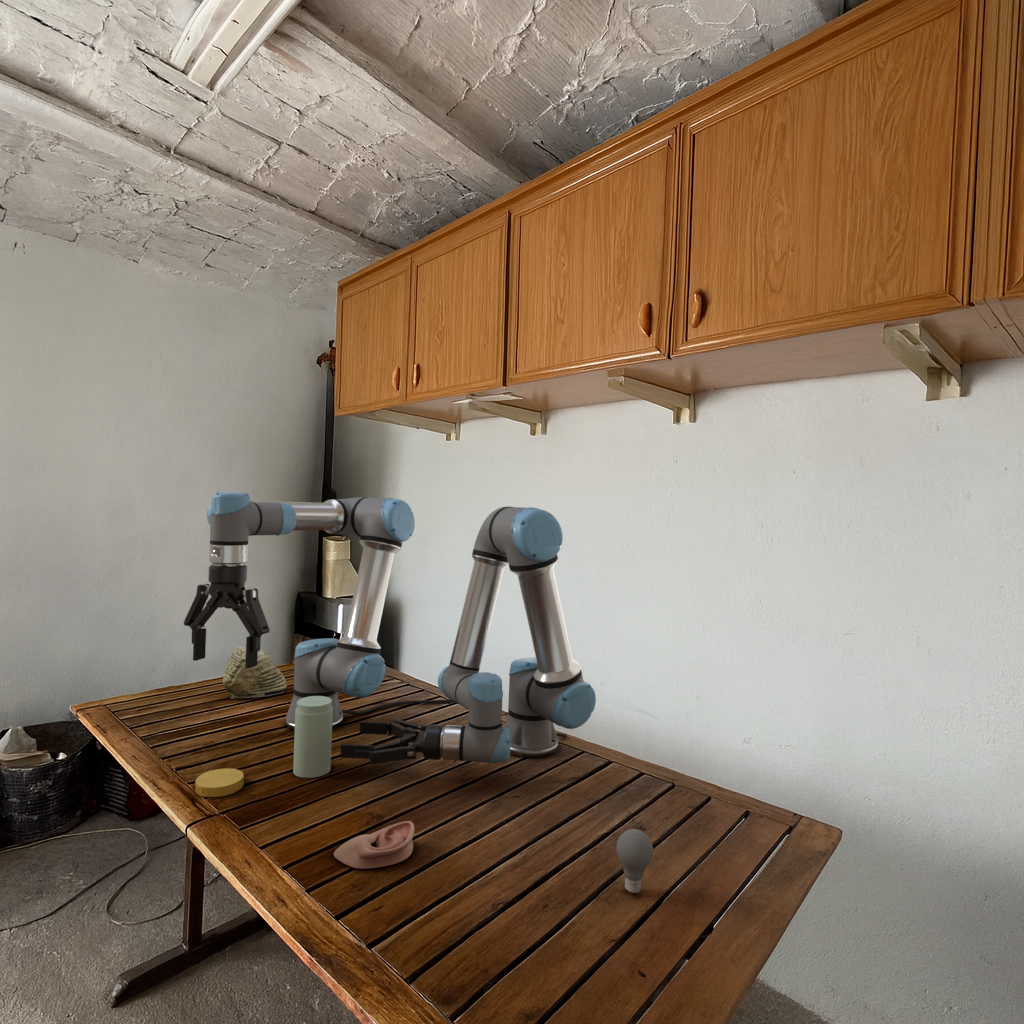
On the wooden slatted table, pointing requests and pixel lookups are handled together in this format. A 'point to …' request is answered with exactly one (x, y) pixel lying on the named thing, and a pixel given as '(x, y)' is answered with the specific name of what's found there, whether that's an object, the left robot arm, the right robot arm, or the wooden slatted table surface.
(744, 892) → the wooden slatted table surface
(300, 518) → the left robot arm
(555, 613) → the right robot arm
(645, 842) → the light bulb
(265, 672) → the fossil
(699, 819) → the wooden slatted table surface
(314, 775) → the jar
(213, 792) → the lid
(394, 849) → the anatomical model
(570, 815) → the wooden slatted table surface
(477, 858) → the wooden slatted table surface
